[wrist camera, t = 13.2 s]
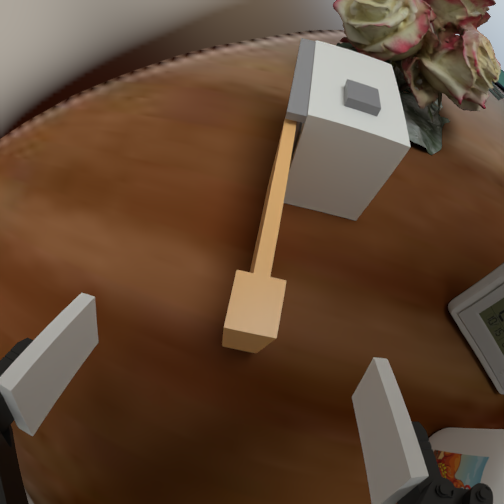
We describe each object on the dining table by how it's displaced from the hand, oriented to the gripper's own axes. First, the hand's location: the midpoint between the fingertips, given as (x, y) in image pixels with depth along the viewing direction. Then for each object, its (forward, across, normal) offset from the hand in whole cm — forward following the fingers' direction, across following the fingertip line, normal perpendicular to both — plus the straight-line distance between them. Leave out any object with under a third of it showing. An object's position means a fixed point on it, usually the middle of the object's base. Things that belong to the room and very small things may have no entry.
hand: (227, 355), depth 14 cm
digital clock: (+16, +31, -6) cm, 35 cm away
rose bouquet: (+44, +20, +22) cm, 53 cm away
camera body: (+28, +6, +7) cm, 30 cm away
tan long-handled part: (+17, +1, -2) cm, 17 cm away
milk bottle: (+5, +25, -16) cm, 31 cm away
